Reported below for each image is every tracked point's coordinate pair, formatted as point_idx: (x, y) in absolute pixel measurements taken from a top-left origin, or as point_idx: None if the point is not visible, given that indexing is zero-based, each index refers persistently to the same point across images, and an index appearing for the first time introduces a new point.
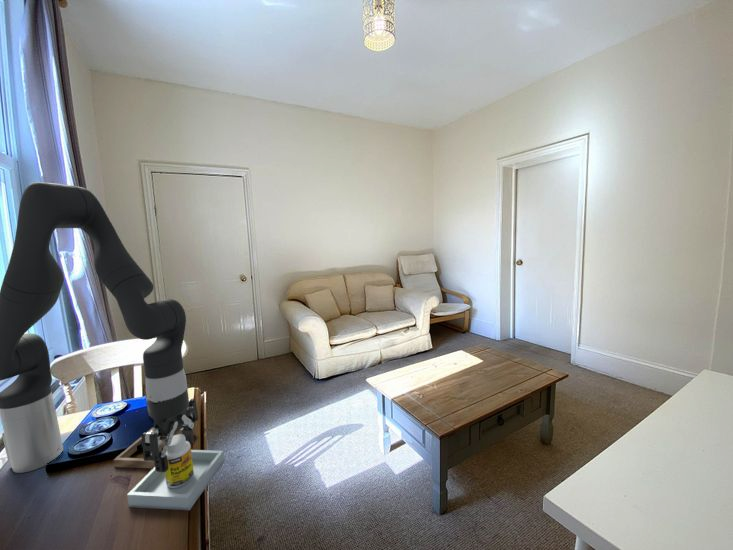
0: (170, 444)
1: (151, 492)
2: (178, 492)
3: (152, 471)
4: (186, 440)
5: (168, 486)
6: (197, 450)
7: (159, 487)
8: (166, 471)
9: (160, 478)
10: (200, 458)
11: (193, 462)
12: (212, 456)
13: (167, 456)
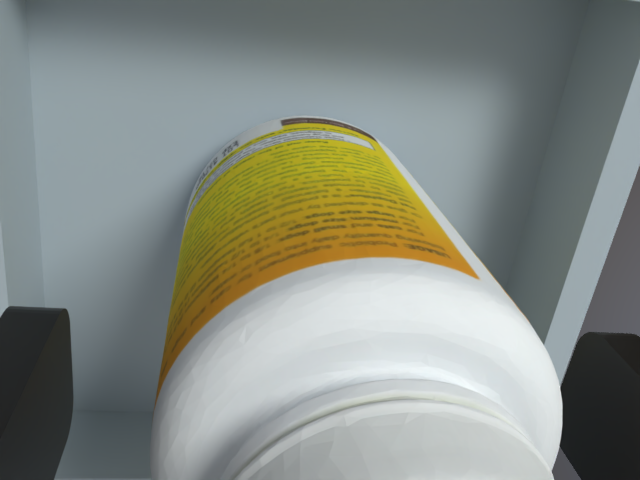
0: None
1: (147, 25)
2: (156, 284)
3: None
4: (603, 405)
5: (197, 181)
6: (588, 285)
7: (213, 70)
8: (179, 266)
9: (331, 4)
10: (520, 287)
11: (504, 220)
12: None
13: (156, 464)
